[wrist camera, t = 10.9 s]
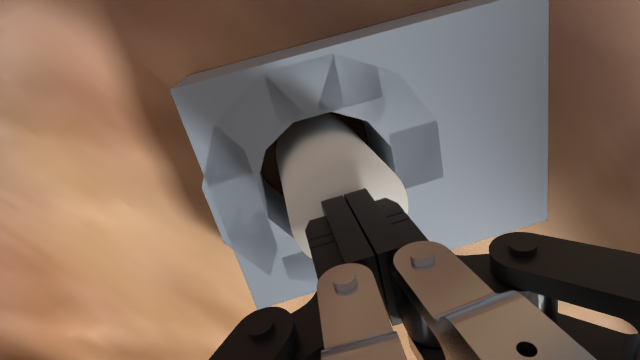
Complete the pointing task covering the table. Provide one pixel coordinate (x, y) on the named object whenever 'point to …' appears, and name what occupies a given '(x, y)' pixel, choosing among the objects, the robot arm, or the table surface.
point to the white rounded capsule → (328, 170)
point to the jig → (384, 128)
